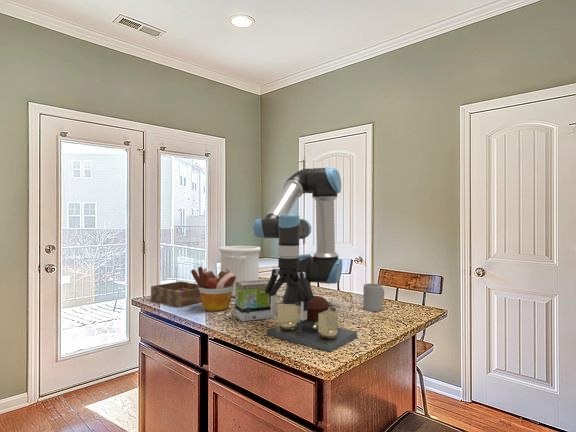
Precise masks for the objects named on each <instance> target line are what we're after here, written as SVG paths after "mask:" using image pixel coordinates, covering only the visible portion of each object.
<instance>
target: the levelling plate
mask: <svg viewBox="0 0 576 432" xmlns="http://www.w3.org/2000/svg"><path fill="white" fill-rule="evenodd" d="M336 329H337V337H336V338H332V339H327V338H322V337H320V336H319V332H318V321H317V322H310V321H306V320H303V321H302V320H301V318H300V323H297V328H296V329H293V330H284V329H281V328H280V324H279V325H276V326H273V327H270V328H268V329H266V336H268V335H269V337H272V336H273V337H272V338H275V337H276V338H277V339H279V338H280V340H284V341H287V342H291V343H295V344H299V345H303V346H306V347H310V348H314V349H318V350H321V351H325V352H329V353H331V352H333V351H335V350H336V349H338V348H340V347H342V346H344V345H346V344H348V343H349V342H351V341H353V340H355V339H357V338H358V331H356V330H352V329H346V328H342V327H338V328H336Z"/></svg>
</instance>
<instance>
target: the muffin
mask: <svg viewBox="0 0 576 432" xmlns="http://www.w3.org/2000/svg"><path fill="white" fill-rule="evenodd" d="M313 296H314V299H313V300H310V301H309V310H308V311H307V319H306V321H310V322H317V321H318V313H321V312H324V311H326V310H329V309H330V306H331V305H330V304H329V301H328V300H327V299H325V298H324V297H323V296H320V295H313Z"/></svg>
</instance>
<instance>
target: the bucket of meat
mask: <svg viewBox="0 0 576 432" xmlns="http://www.w3.org/2000/svg"><path fill="white" fill-rule="evenodd" d="M197 271H198V272H197ZM226 272H227V273H226ZM226 272H222V271H221V270H220V271H219V273H218V274H215V273H214V272H213V271H212V270H209V271H208V268H207V267H204V268H203V266H198V268H197V270H196V269H191V271H190V273H191V275H192V277H193V278H194V281H195V282H196V284H198V287H199V291H200V296H201V301H202V303H201V305H202V308H203V309H204V310H205V311H208V312H221V311H225V310H227V309H228V308H229V307H230V306H231V305H230V303H231V298H232V297H231V296H232V291H233V288H234V285H233V284H234V282H235V279H236V275H235V274H233V272H232V271H230V269H229V268H226Z"/></svg>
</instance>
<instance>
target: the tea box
mask: <svg viewBox="0 0 576 432" xmlns="http://www.w3.org/2000/svg"><path fill="white" fill-rule="evenodd" d="M269 280H270V279H259V280H254V281H238V282H236V286H235V297H234V316H235V317H236V318H237V319H238V320H239V321H241V322H246V321H247V322H249V321H256V320H266V319H267V320H268V319H277V313H274V314H271V304H270V303H269V294H268V293H265V290H266V287H267V285H268V282H269ZM276 283H277V282H275V284H276ZM275 284H274V285H275ZM275 295H277V296H278V291H277V292H276V294H275Z"/></svg>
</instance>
